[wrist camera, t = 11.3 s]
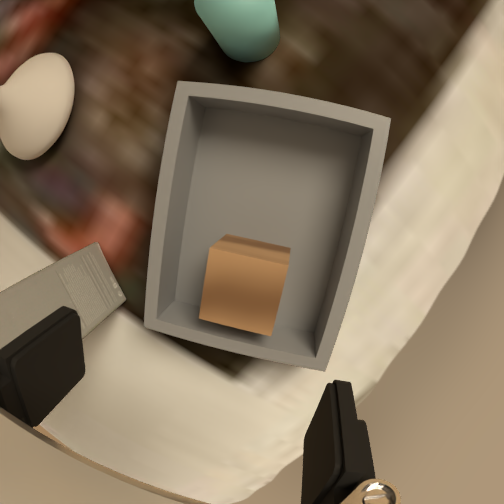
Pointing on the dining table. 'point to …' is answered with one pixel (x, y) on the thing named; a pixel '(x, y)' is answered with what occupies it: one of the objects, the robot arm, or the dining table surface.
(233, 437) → the dining table surface
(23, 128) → the flower in vase
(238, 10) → the mint rounded capsule part
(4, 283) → the dining table surface
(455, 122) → the dining table surface
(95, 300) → the skincare box
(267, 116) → the tote
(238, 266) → the walnut cube
